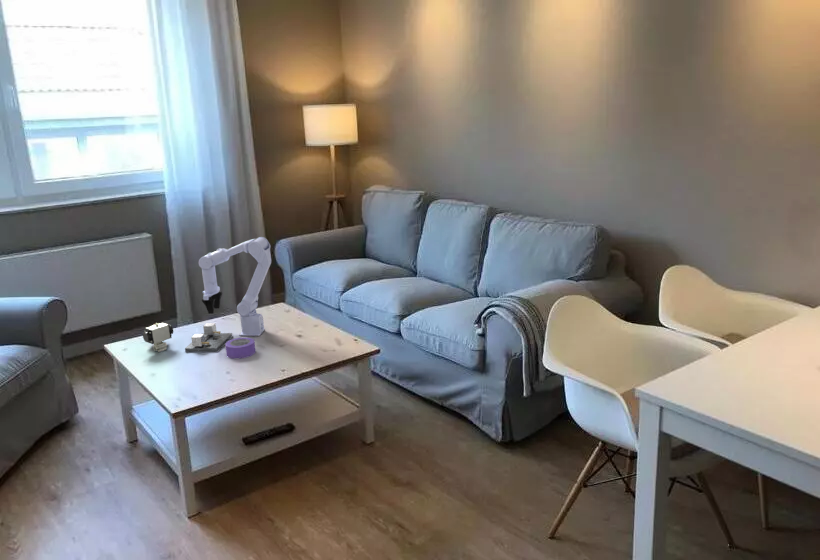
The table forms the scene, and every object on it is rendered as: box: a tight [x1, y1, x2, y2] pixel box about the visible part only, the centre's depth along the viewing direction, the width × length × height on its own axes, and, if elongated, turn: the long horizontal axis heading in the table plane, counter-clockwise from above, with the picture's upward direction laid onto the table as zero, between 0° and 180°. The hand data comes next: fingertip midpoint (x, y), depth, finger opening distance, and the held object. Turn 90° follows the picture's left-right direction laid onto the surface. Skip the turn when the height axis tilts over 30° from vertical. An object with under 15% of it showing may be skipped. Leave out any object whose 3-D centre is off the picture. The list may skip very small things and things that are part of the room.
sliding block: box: [203, 322, 221, 335], centre depth 305 cm, size 6×4×4 cm, turn 84°
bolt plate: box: [184, 332, 233, 353], centre depth 299 cm, size 14×18×6 cm
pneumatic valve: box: [142, 322, 174, 353], centre depth 294 cm, size 6×12×12 cm, turn 140°
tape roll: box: [224, 337, 256, 359], centre depth 287 cm, size 12×12×5 cm
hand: (214, 310), depth 310 cm, fingers open, 6 cm apart
